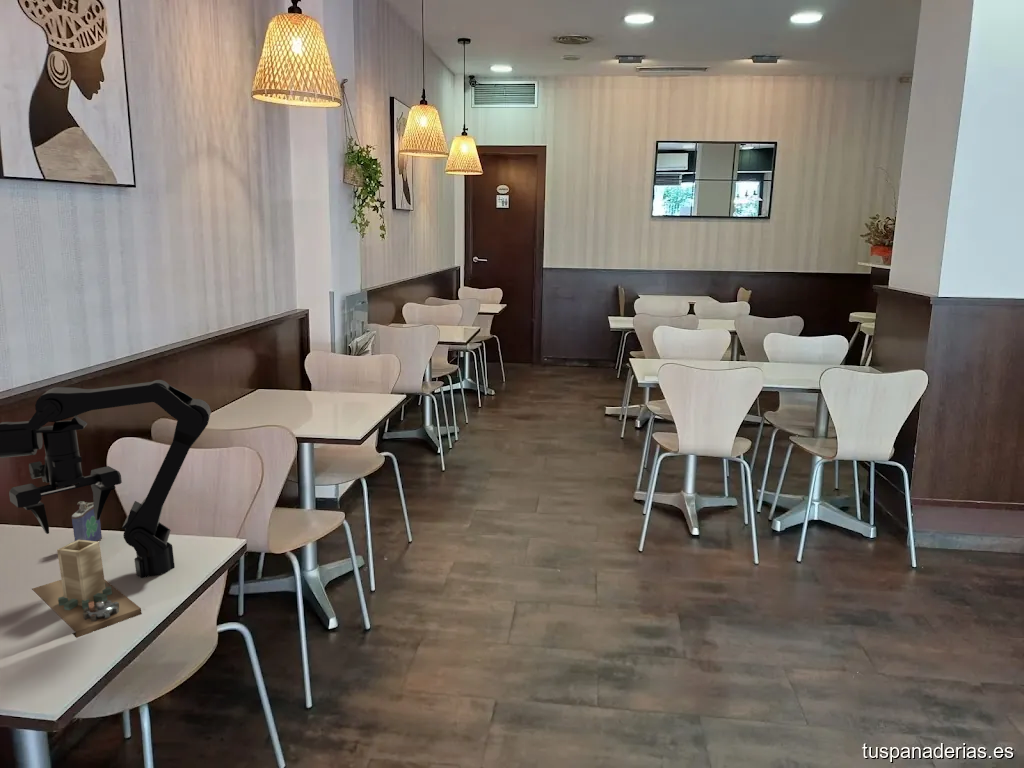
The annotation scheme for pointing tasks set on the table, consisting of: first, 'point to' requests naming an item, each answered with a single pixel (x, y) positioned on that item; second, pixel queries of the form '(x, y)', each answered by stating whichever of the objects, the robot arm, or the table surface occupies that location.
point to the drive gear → (100, 610)
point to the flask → (86, 523)
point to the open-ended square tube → (82, 574)
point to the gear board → (75, 615)
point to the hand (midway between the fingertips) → (72, 526)
